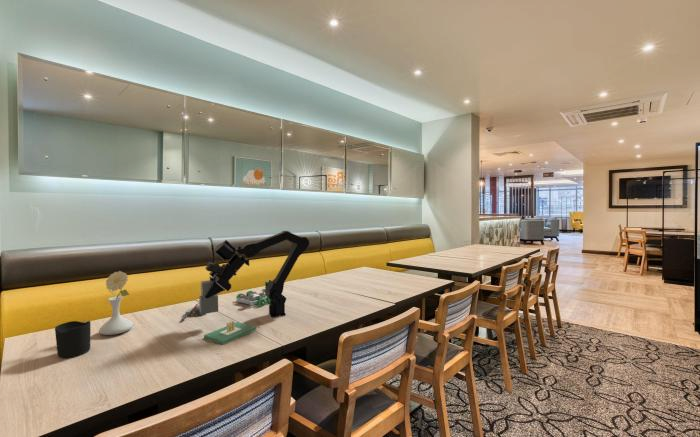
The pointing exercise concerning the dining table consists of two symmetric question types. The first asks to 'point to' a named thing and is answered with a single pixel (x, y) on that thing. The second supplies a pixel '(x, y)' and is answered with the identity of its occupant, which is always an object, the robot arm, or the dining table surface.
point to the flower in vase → (116, 306)
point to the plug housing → (207, 299)
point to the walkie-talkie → (193, 312)
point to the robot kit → (253, 297)
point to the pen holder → (72, 339)
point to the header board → (229, 332)
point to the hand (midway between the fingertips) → (205, 296)
